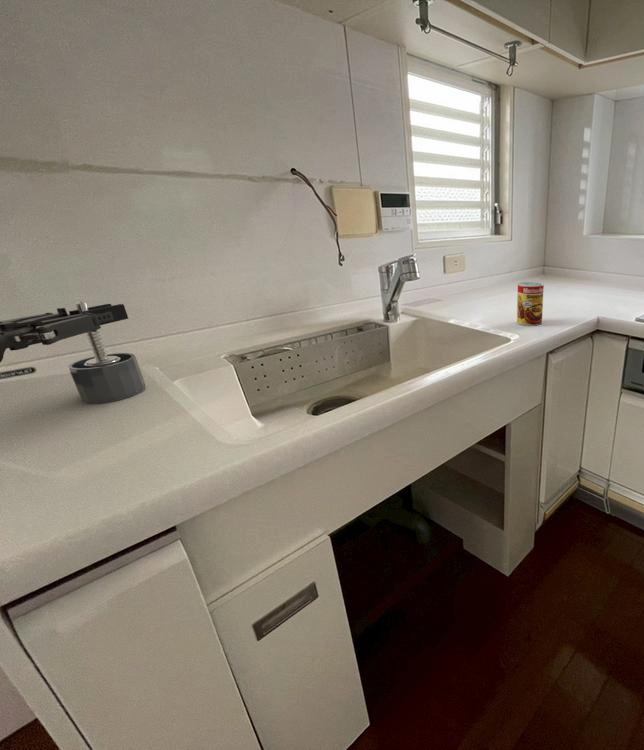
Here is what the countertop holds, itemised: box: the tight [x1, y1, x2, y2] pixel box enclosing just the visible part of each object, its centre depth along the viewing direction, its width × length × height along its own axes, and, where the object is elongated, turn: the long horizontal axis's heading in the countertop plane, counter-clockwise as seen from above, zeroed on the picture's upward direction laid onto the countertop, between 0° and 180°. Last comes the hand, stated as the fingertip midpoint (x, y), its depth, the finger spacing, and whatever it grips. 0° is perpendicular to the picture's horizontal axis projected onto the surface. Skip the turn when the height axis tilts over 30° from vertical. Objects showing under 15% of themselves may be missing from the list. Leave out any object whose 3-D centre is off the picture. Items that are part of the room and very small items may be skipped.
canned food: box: [516, 281, 545, 327], centre depth 124 cm, size 8×8×12 cm
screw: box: [75, 300, 121, 368], centre depth 71 cm, size 13×5×5 cm
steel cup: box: [67, 352, 147, 405], centre depth 73 cm, size 9×9×6 cm
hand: (117, 311), depth 74 cm, fingers closed on screw, 2 cm apart
